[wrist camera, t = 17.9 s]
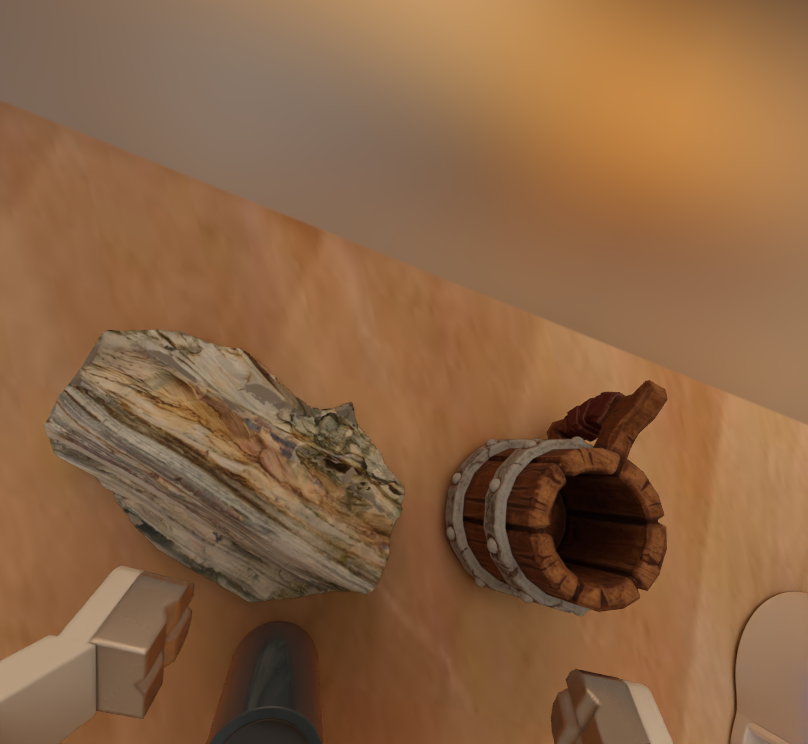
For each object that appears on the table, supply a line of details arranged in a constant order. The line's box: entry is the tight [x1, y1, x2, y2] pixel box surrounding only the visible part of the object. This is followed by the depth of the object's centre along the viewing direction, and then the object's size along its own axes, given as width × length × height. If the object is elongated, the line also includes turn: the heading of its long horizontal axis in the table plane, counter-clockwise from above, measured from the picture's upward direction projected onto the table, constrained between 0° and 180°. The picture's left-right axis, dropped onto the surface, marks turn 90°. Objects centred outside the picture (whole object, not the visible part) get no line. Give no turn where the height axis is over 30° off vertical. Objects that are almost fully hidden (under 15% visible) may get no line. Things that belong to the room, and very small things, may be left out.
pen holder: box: [206, 622, 324, 744], centre depth 26 cm, size 6×6×10 cm
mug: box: [445, 380, 667, 616], centre depth 31 cm, size 12×14×15 cm
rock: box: [44, 330, 405, 602], centre depth 30 cm, size 23×7×15 cm
